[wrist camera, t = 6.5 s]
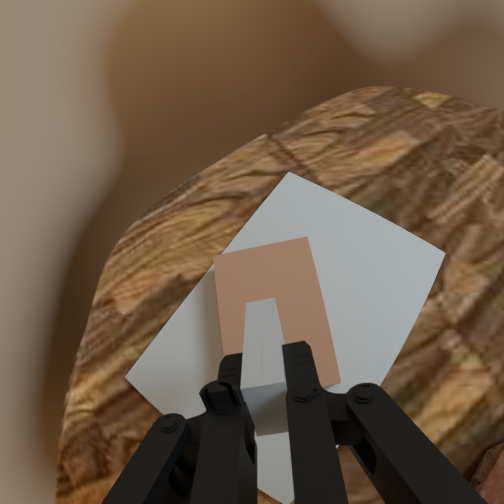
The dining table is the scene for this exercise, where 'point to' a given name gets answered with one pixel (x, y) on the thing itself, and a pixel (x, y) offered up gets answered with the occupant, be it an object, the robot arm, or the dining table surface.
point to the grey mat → (334, 296)
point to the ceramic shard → (490, 475)
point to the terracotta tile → (276, 298)
